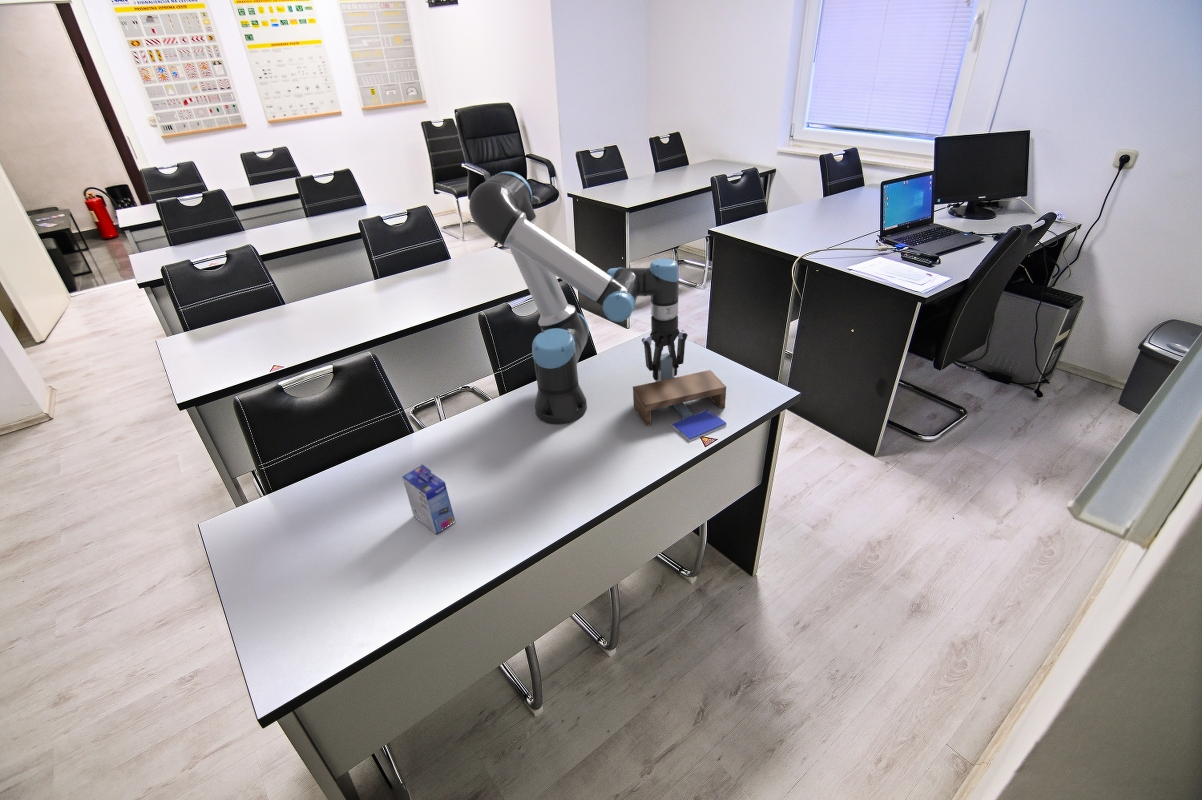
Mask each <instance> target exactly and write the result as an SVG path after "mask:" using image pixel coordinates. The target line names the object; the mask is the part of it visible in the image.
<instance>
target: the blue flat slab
mask: <svg viewBox="0 0 1202 800" xmlns="http://www.w3.org/2000/svg"><path fill="white" fill-rule="evenodd" d="M726 426H727V421H725V420H723V419H722V418H721V417H719V416H718V415H717V414H715V412H713V411H712V410H710V409H705V410H703V411H701V412H699V413H695V414H694V415H692V416H691V417H688V418H686V419H683V418H682V419H681V420H678V421H677V422H673V423H672V424H671V428H673V429H674V430H675V431H677V432H678V433H679V434H680V435H681V436H682V437H684V438H685V439H686V440H687V441H688V440H689V441H688V442H691V441H693V440H696V439H698V438H701V437H703V436H705V435H708V434H710V433H712V432H715V431H717V430H720V429H722V428H724V427H726Z"/></svg>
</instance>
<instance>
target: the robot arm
mask: <svg viewBox="0 0 1202 800" xmlns="http://www.w3.org/2000/svg"><path fill="white" fill-rule="evenodd" d="M532 200H533V192H532V189H531V186H530V184H529V183H528V181H527V180H526V179H525V178H524V177H523V176H522V175H520V174H518V173H517V172H513V171H501V172H499V173H495V174H493V175H491V176H490V177H489V178H488V179H487V180H484V182H483V183H482V182H481V183H480V184H479V185H478V186H476V188H475V189H474V190H473V191H472V193H471V195H470V197H469V202H468V203H469V204H468V205H469V206H468V207H469V212H470V216H471V218H472V220H473V222H474V223H475V225H476V226H477V227H478V228H479V229H480V230H481V231H482V232H483V233H484V234H485V235H486V236H488V237H489V238H490V239H492V240H493V241H495V242H496V243H497V244H499V245H501V246H502V247H504V248H509V251H510V253H511V254H512V256H513V258H514V262H515V263H516V265H517V267H518V269H519V272H520V274H521V276H522V278H523V280H524V283H525V284H526V287H527V289H528V292H529V293H530V295H531V298H532V301H533V302H534V305H535V306H536V308H537V311H538V312H539V314H540V316H539V319H538V326H539V327H540V329H541V332H540V333H538V334H537V335H536V336H535V337H534V339H533V341H532V345H531V349H532V350H531V354H532V355H531V356H532V358H533V363H534V371H535V376H536V377H535V378H536V383H537V393H536V398H535V400H534V401H535V402H534V411H535V415H536V417H537V418H538V419H539V420H540V421H543V422H545V423H548V424H552V425H553V424H554V425H561V424H568V423H571V422H574V421H576V420H578V419H580V418H581V417H583V416H584V415H585V414H586V412H587V409H588V404H587V403H588V402H587V398H586V396H585V393H584V392H583V389H582V388H581V386H580V384H579V374H578V362H579V359H580V357H581V355H582V352H583V351H584V348H585V347H586V345H587V343H588V339H589V333H590V329H589V324H588V322H587V320H586V318H585V317H584V316H583V314H581V313H578V311H577V309H576V307H575V305H572V304H569V303H568V301H567V299H566V296H565V294H564V292H563V290H562V287H561V285H560V283H559V281H558V278H559V279H561V281H563V282H564V283H566V284H568V285H569V286H571V287H573V288H574V289H576V290H577V291H578V292H580V293H581V294H583V295H584V296H586V297H587V298H588V299H590V300H592V301H594V302H595V303H596V304H598V306H599V305H600V306H601V307H602V309H603V313H604V316H606V317H607V319H608V320H610V321H612V322H618V323H621V322H623V321H626V320H627V319H629V318H630V316H631V315H632V313H633V312H634V310H635V307H636V302H637V299H638V297H650V315H651V317H650V319H651V321H650V325H651V331H650V334H649V336H648V337H646V338H645V337H643V338H642V339H641V342H642V344H643V345H644V358H645V367H646V368H647V369H648V371H649V372H652V379H653V380H654V381H655V382H657V381H661V370H660V369H659V365H660V359H661V354H663V350H664V347H666V346H667V349H668V354H669V355H670V356H671V357H672V378H675V377H678V376H677V375H678V369H679V367H680V365H683V364H684V363H685V362H684V359H685V351H686V350H685V349H686V340H687V338H688V337H689V336H688V333H687V332H686V331H685V330H680V329H679V315H678V314H679V291H680V290H679V289H680V287H679V285H680V284H679V283H680V282H679V281H680V277H679V264H678V262H677V261H676V260H674V259H671V258H665V257H662V258H658V259H653V260H652V261H651V262H650V266H649V267H623V266H622V267H621V266H619V267H614V268H612V267H611V268H609V269H608V270H607V271H604V270H602V269H601V268H600V267H598V266H596V265H595V264H593V263H592V262H590V261H589V260H588V259H586V258H585V257H583V256H582V255H580V254H579V253H577V252H576V251H574V250H573V249H571V248H570V247H568V246H567V245H565V244H564V243H563V242H561V241H559V240H558V239H556V238H555V237H554V236H552V235H550V234H549V233H548V232H546V231H545V230H543V229H542V228H540V227H539V226H538V225H535V224H536V220H537V218H538V217H537V215H536V213H535V210H534V207H533V206H532V202H533V201H532ZM676 339H677V345H676V343H675V340H676ZM652 341H653V342H654V351H653V353H652V347H651V346H652ZM676 346H677V349H675V348H676ZM652 354H653V355H652Z"/></svg>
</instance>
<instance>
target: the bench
mask: <svg viewBox="0 0 1202 800" xmlns="http://www.w3.org/2000/svg"><path fill="white" fill-rule="evenodd" d="M632 395H633V396H632V399H633V408H634V410H635V412H636V413H637V415H638V417H640V419H641V421H642V422H643V424H644V426H645V427H648V426H651V425H652V418H651V417H652V411H651V410H657V409H661V408H666V407H669V406H673V405H674V404H679V403H687V402H692V401H696V400H700V399H703V398H704V399H706V398H710V399H711V400H712V401H713V403H715V404H716V405H717V406H718V409H724V408H726V399H727V396H726V395H727V385H725V384H724V383H723V382H722V380H720V378H719V377H718V376H717V375H716V374H715V373H714V372H713V371H712V370H711V369H709V370H704V371H699V372H694V373H690V374H686V375H681V376H674V378H671V379H666V380H662V381H657V382H656V381H654V382H649V383H644V384H640V385H634V386H632Z"/></svg>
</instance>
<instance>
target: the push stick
mask: <svg viewBox="0 0 1202 800" xmlns="http://www.w3.org/2000/svg"><path fill="white" fill-rule="evenodd" d="M659 369H660V370H661V381H662V380H666V379H671V378H672V357H671V356H670V355H669V352H666V353H661V359H660V365H659ZM672 406H673V407H674V409H675V410H676V412H677V413H678V414H679V416H680V417H681V418H682V420H683V419H686V418H688V417H691V416H693V415H692V414H693V413H692V412H691V410H690V409H689V408H688V406H687V405H686V404H685V402H683V403H679V404H674V405H672Z"/></svg>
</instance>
